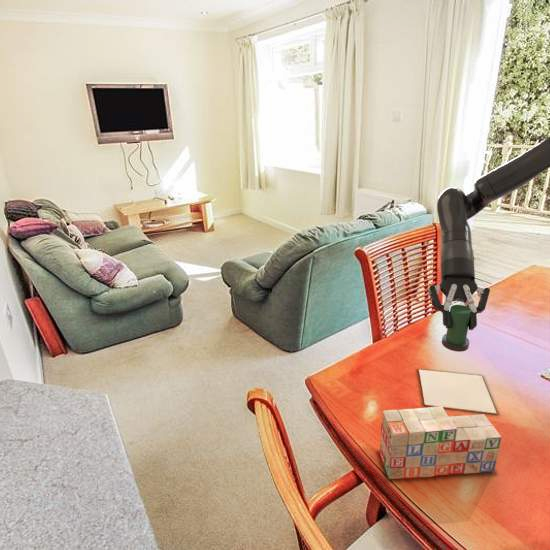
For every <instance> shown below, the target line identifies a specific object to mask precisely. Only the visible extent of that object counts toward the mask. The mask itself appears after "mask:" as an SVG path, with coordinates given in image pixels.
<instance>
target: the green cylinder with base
mask: <svg viewBox="0 0 550 550" xmlns="http://www.w3.org/2000/svg"><path fill="white" fill-rule="evenodd" d="M449 312H450V316H451V327H450V328H446V333H445V334H443V335H442V338H441V345H442V346H443V347H444V348H445V349H447V350H449V351H453V352H458V353H459V352H461V353H462V352H466V351H467V350H468V349H469V347H470V339H469V338H467V337H468V332H469V320H470V315H471V309H470V308H469V307H467V306H465V305H464V304H453V305H450V308H449Z"/></svg>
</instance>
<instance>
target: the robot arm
mask: <svg viewBox="0 0 550 550" xmlns="http://www.w3.org/2000/svg"><path fill="white" fill-rule="evenodd" d="M548 169H550V136H549V137H547V138H546V139H544V140H542V141H541V142H539V143H538V144H536V145H535V146H533V147H531V148H530V149H528V150H527V151H525V152H523V153H521V154H520V155H518V156H516V157H514V158H513V159H511V160H510V161H508V162H506V163H504V164H502V165H500V166H498V167H496V168H495V169H492V170H491V171H488V172H487V173H485V174H483V175H482V176H480V177H478V178H477V179H475V180H474V183H473V189H472V190H471V191H470V192H468V193H465V192H464V190H462V189H460V188H457V187H455V186H454V187H448V188H445V189H444V190H443V191H442V192H441V193H440V194H439V195H438V197H437V201H436V212H437V216H438V222H439V226H440V231H441V235H440V236H441V237H440V239H441V240H440V242H441V247H440V249H441V250H440V283H439V284H436V285H434V284H430V285H429V287H428V289H427V290H428V291H427V292H428V295H429V298H430V300H431V304H432V307H433V309H434V310H435V311H439V312H440V313H442V325H443V327H445V329H447V328H450V327H451V316H450V308H451V306H452V303H453V302H460V303H463V305H464V306H467V307H469V308H470V309H471V315H470V320H469V326H468V331H473V330H475V328H476V327H477V326H478V316H477V314H482V313H483V312H484V311H485V310H486V307H487V303H488V300H489V295H490V292H491V289H490V288H489V287H485V288H483V287H480V286H478V284H477V283H476V274H475V271H476V270H475V256H474V255H475V254H474V249H473V241H472V229H471V226H470V224H469V222H468V220H471V219H472V218H473V217H475V216H476V215H477V214H479V213H480V212H481V211H482V210H484V209H485V208H487V207H488V206H489V205H490V204H491V203H493V202H495V201H496V200H498V199H501V198H503V197H505V196H507V195H509V194H511V193H513V192H515V191H516V190H519V189H520V188H521V187H523V186H525V185H526V184H528V183H529V182H531V181H532V180H534V179H535V178H536V177H538V176H540V175H541V174H543V172H545V171H546V170H548ZM439 292H441V293H442V294H443V295H444V296H445V299H444V302H443V304H442V303H441V300H440V298H439V295H438V294H440V293H439ZM475 293H477V296H478V297H479V301H478V304H477V306H476V304H475V300H474V298H473V295H474V294H475Z"/></svg>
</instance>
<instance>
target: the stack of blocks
mask: <svg viewBox="0 0 550 550" xmlns="http://www.w3.org/2000/svg"><path fill="white" fill-rule="evenodd" d="M381 418H382V420H381V423H380V425H381V426H380V448H379V455H380V458H381V459H380V460H381V461H382V464H383V466H384V468H385V472H386V475H387V479H388V480H396V479H397V480H399V479H416V478H417V479H418V478H430V477H435V476H436V477H437V476H447V475H460V474H464V475H465V474H466V475H467V474H479V473H490V472H495V468H496V464H497V460H498V457H499V453H500V446H501V442H502V436H501V434H500V433H499V431H498V430H497V429H496V428H495V426H494V425H493V424H492V423H491V422H490V419H488V417H487V416H486V414H484V413H482V414H470V415H469V414H465V415H456V416H454V415H452V416H449V415H448V413H447V412H446V410H445V408H444V407H442V406H438V407H436V406H428V407H418V408H417V407H416V408H404V409H388V410H387V409H386V410H385V409H384V410H383V411H382V417H381Z"/></svg>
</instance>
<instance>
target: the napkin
mask: <svg viewBox="0 0 550 550" xmlns="http://www.w3.org/2000/svg"><path fill="white" fill-rule="evenodd" d="M418 374H419V380H420V384H421V385H420V386H421V391H422V396H423V403H424V406H428V407H438V406H442V407H443V408H444V409H452V410H453V409H454V410H460V411H469V412H479V413H486V414H493V415H497V414H498V413H497V411H496V407H495V405H494V403H493V400H492V398H491V396H490V393H489V390H488V388H487V385H486V383H485V381H484V378H483V376H482V375H480V374H479V375H478V374H468V373H457V372H448V371H437V370H427V369H418Z"/></svg>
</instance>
